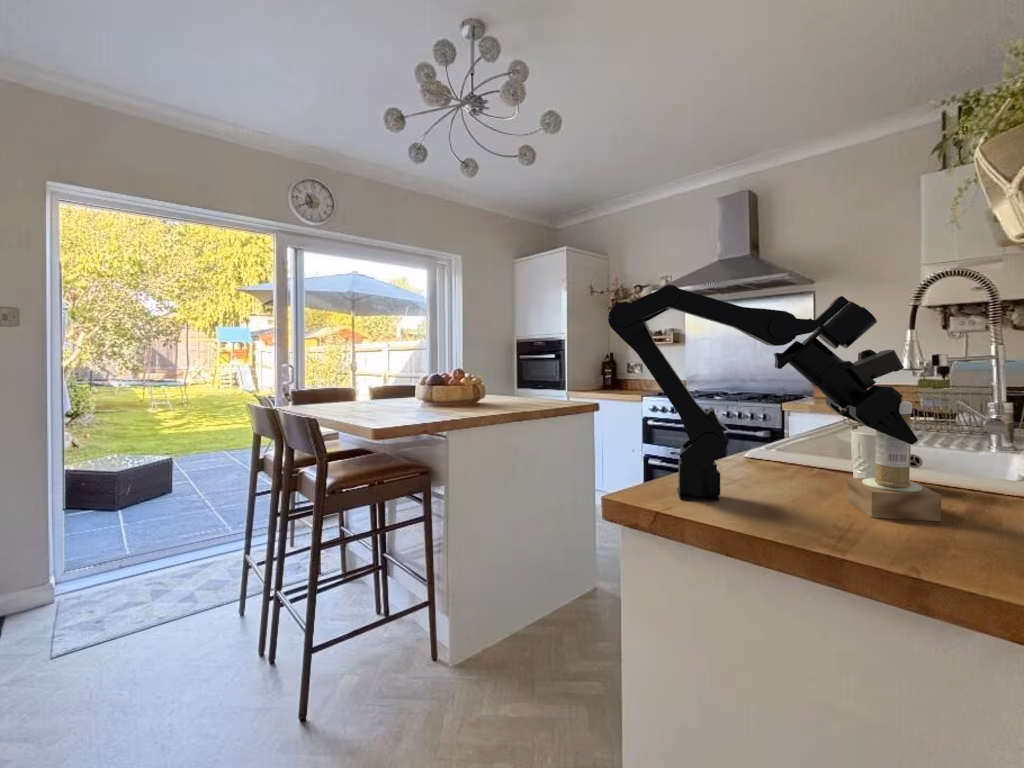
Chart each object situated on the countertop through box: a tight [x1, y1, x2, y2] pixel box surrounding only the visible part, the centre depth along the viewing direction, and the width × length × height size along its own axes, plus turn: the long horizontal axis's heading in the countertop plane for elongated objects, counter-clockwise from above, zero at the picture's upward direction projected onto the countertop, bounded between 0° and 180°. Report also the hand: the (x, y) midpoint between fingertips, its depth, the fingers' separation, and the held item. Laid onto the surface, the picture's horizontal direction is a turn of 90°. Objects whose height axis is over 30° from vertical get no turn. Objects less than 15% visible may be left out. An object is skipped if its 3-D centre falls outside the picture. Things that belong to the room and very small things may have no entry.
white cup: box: [850, 428, 876, 478], centre depth 95 cm, size 8×8×10 cm
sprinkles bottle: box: [875, 400, 913, 488], centre depth 77 cm, size 5×5×13 cm
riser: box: [846, 477, 942, 522], centre depth 79 cm, size 9×9×4 cm
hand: (902, 437), depth 77 cm, fingers open, 9 cm apart
